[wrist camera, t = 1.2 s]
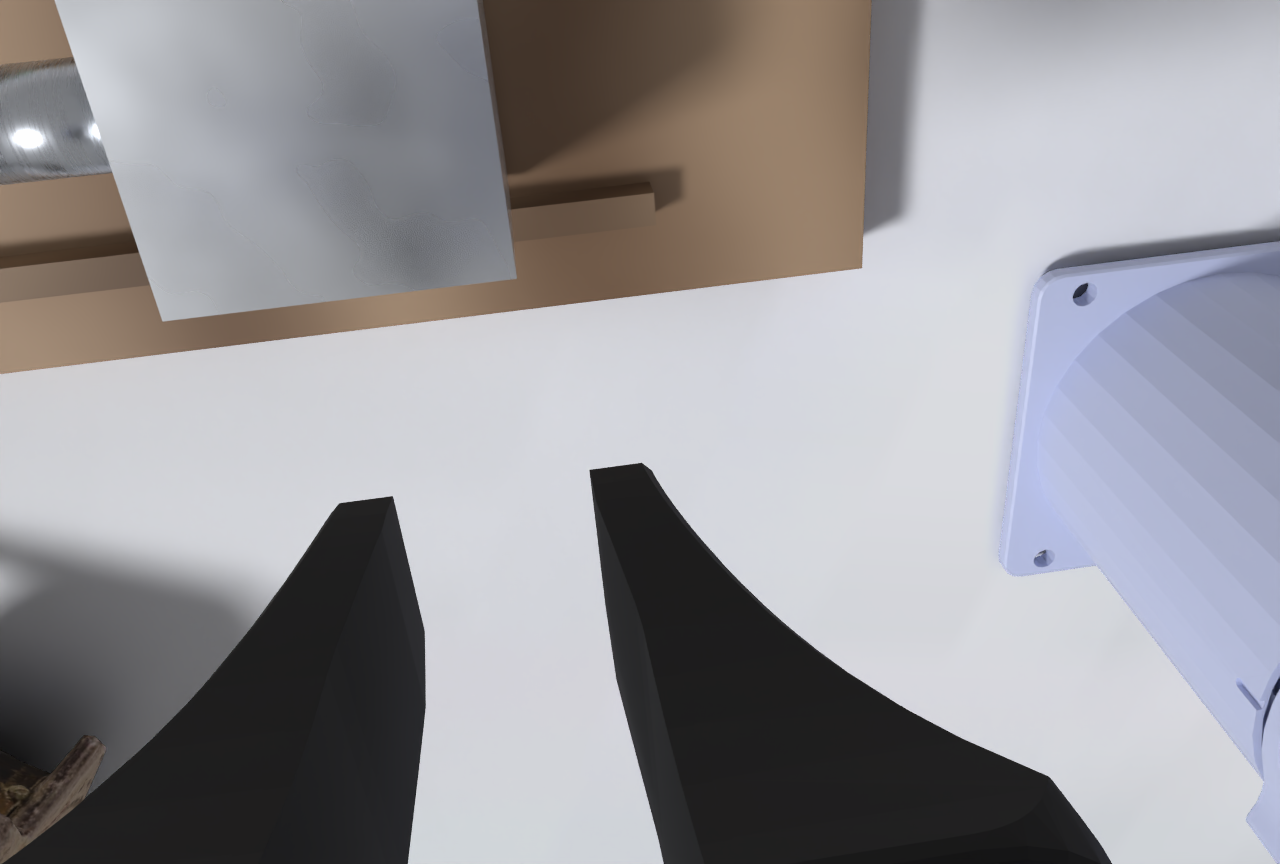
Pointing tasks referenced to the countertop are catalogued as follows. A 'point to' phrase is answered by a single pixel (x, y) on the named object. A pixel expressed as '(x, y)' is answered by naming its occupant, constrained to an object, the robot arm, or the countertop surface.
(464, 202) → the brushed steel box
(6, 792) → the mechanical counter
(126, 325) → the rail board
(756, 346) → the countertop surface
